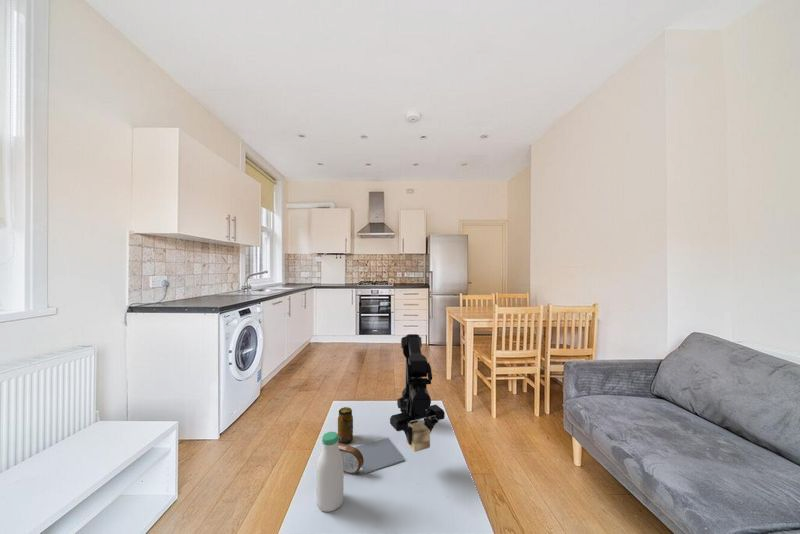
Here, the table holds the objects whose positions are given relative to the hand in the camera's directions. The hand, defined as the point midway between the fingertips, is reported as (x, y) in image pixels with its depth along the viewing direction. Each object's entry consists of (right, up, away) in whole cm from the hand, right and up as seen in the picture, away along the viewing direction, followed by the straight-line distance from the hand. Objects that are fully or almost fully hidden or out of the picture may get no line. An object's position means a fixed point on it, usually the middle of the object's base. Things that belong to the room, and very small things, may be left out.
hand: (417, 441), depth 101 cm
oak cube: (0, -1, 0) cm, 1 cm away
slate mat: (-14, -10, +9) cm, 19 cm away
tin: (-26, -10, +1) cm, 28 cm away
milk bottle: (-27, -10, -13) cm, 32 cm away
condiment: (-28, -10, +18) cm, 34 cm away
